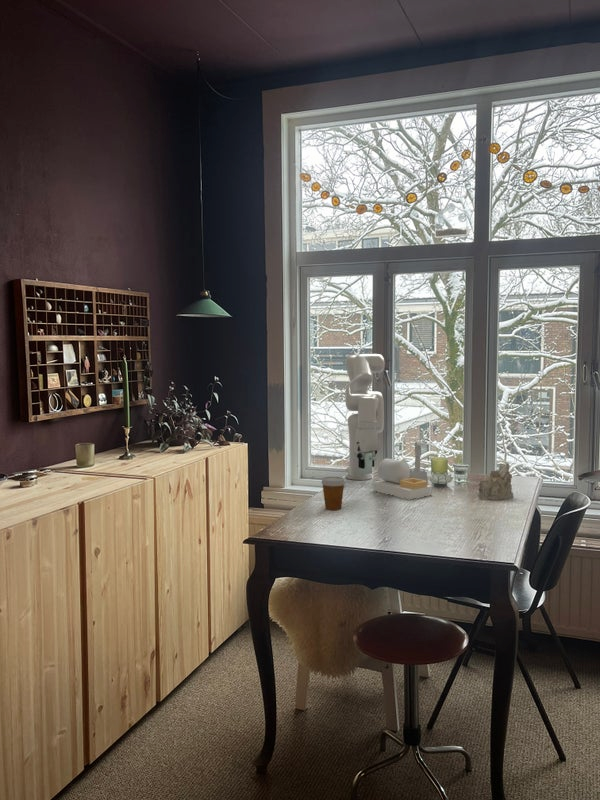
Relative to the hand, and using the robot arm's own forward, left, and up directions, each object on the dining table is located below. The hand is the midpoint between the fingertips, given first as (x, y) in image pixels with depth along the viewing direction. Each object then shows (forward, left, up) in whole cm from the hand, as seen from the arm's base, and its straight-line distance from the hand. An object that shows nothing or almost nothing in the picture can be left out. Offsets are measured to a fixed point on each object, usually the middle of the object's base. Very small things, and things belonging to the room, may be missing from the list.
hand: (366, 466), depth 284 cm
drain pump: (+1, 0, -3) cm, 3 cm away
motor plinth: (+5, +18, -13) cm, 22 cm away
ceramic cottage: (+32, +46, -13) cm, 57 cm away
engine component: (-4, +38, -13) cm, 40 cm away
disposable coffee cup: (+7, -24, -13) cm, 29 cm away
